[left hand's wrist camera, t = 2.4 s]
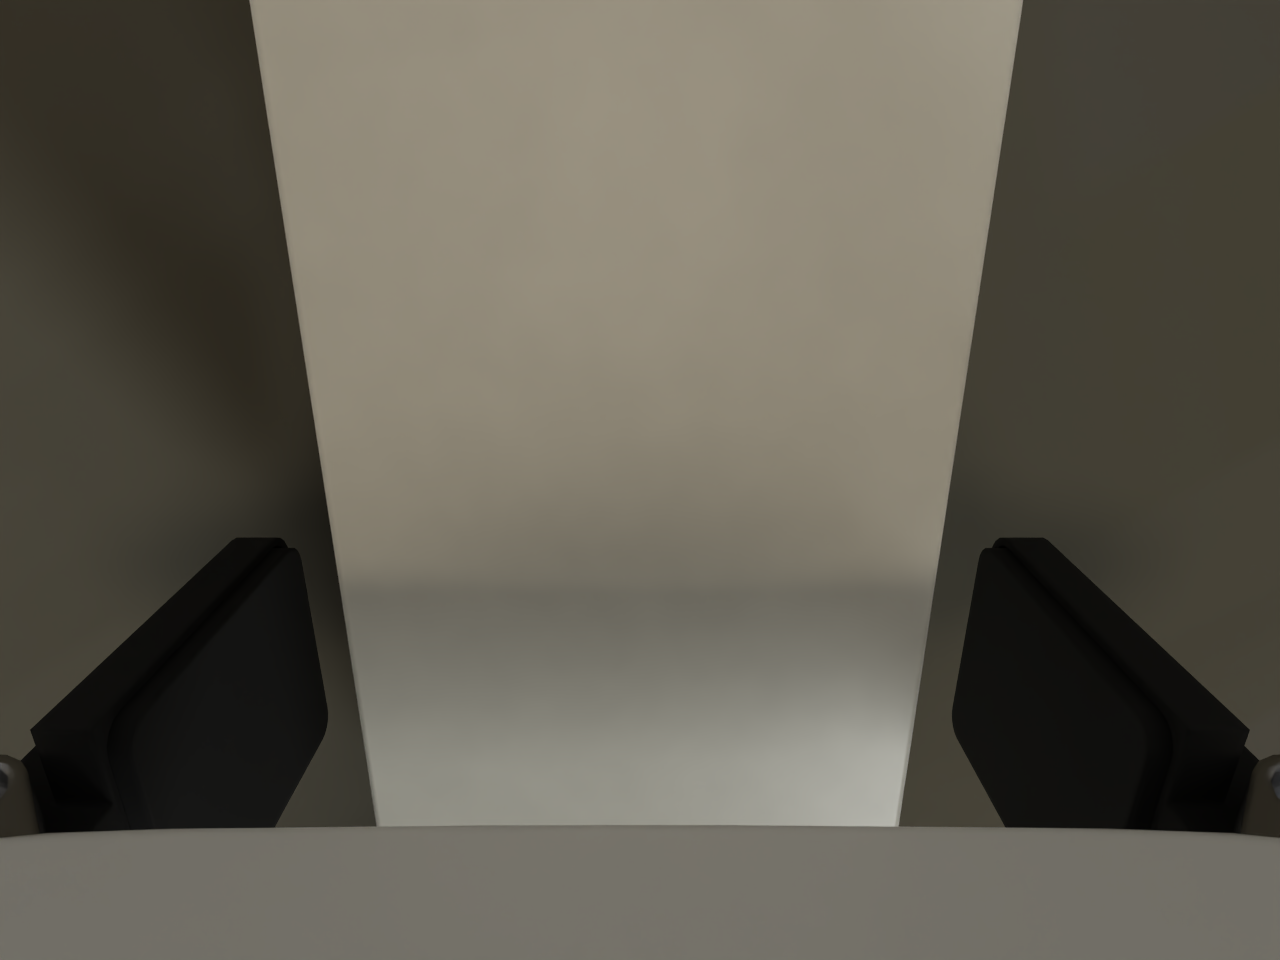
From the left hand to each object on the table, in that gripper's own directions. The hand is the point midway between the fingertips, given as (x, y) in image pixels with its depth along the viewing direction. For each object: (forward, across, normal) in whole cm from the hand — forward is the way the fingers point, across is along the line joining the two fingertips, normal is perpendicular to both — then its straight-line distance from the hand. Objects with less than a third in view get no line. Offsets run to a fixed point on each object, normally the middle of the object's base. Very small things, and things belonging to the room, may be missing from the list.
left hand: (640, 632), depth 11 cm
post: (+3, 0, -24) cm, 25 cm away
